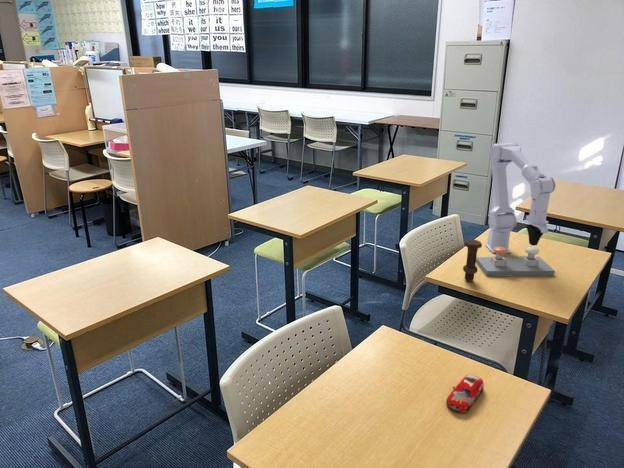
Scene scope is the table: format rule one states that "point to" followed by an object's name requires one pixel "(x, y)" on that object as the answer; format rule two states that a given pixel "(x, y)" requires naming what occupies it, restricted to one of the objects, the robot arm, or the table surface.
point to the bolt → (471, 259)
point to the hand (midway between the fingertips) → (533, 244)
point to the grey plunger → (531, 251)
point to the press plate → (514, 266)
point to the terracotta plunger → (500, 252)
